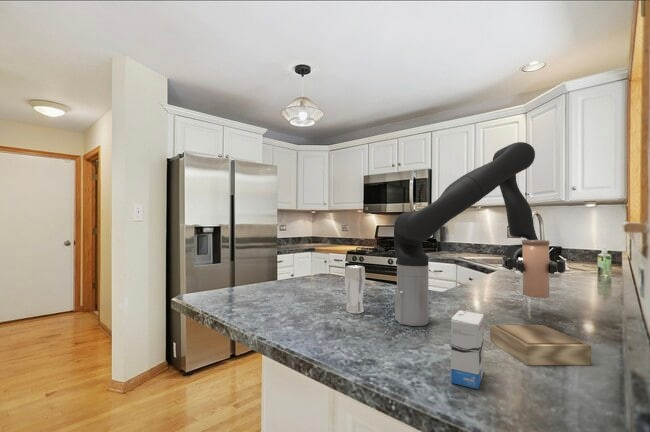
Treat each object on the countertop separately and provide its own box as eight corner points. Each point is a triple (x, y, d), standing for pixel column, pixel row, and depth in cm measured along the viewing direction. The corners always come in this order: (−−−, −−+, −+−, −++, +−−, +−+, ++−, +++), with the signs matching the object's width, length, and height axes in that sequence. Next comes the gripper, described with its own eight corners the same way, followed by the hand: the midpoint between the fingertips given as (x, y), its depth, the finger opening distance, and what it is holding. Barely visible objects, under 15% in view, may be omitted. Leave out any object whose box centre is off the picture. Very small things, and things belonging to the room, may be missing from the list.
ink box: (479, 390, 57) (479, 324, 57) (449, 383, 60) (449, 319, 60) (484, 372, 64) (484, 313, 65) (458, 366, 67) (458, 309, 67)
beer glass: (341, 312, 106) (341, 267, 107) (348, 307, 113) (348, 264, 113) (361, 314, 104) (362, 268, 104) (367, 309, 110) (367, 265, 111)
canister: (523, 296, 74) (522, 240, 74) (521, 291, 79) (521, 239, 79) (551, 299, 71) (551, 241, 72) (548, 294, 76) (547, 240, 76)
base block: (526, 365, 67) (526, 344, 68) (490, 340, 81) (490, 323, 82) (591, 364, 68) (591, 344, 68) (544, 340, 82) (543, 323, 82)
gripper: (499, 245, 91) (500, 250, 76) (561, 247, 85) (576, 253, 70) (500, 272, 91) (501, 282, 76) (562, 276, 84) (576, 288, 69)
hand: (537, 268), depth 73 cm, fingers closed on canister, 5 cm apart
